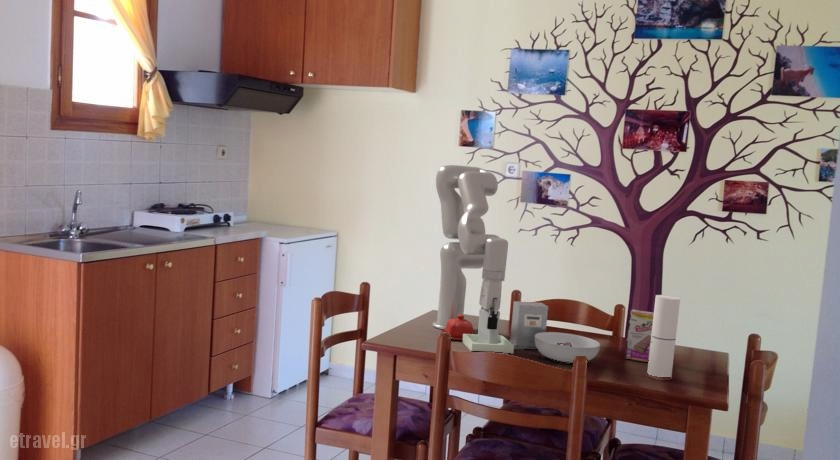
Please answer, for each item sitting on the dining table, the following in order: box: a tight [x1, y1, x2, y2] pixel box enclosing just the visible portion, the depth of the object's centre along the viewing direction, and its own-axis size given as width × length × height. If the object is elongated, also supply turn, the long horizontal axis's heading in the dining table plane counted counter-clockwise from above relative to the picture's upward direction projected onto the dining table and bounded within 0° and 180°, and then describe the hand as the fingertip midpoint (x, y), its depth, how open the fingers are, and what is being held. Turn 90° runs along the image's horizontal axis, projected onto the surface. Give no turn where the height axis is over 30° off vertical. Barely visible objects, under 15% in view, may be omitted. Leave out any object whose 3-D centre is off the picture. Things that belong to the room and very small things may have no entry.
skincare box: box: [477, 308, 501, 344], centre depth 254 cm, size 6×4×12 cm
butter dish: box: [440, 314, 474, 341], centre depth 266 cm, size 12×12×8 cm
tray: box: [461, 333, 515, 355], centre depth 255 cm, size 14×14×3 cm
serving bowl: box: [535, 331, 601, 364], centre depth 246 cm, size 21×21×7 cm
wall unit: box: [507, 300, 549, 350], centre depth 260 cm, size 9×12×15 cm
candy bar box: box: [624, 309, 654, 360], centre depth 254 cm, size 11×5×16 cm, turn 71°
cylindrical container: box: [646, 294, 681, 378], centre depth 233 cm, size 7×7×25 cm
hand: (488, 325), depth 255 cm, fingers open, 9 cm apart
